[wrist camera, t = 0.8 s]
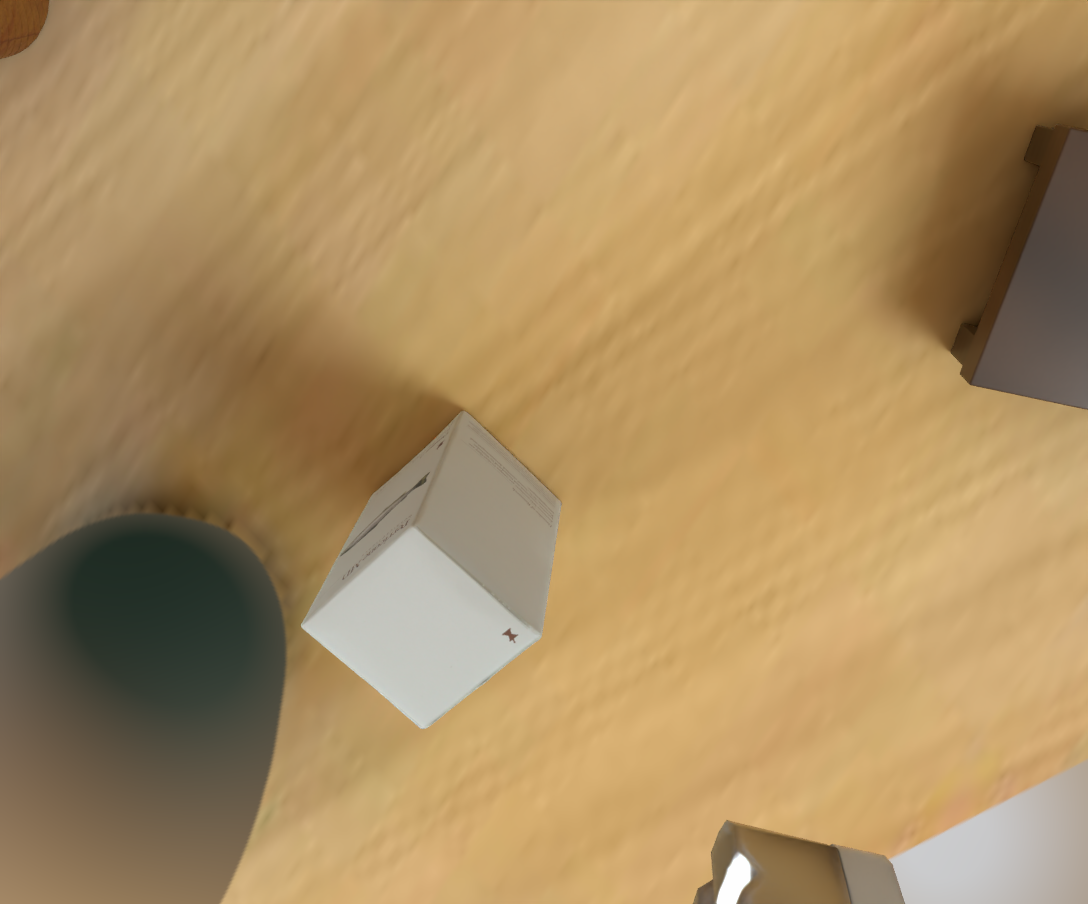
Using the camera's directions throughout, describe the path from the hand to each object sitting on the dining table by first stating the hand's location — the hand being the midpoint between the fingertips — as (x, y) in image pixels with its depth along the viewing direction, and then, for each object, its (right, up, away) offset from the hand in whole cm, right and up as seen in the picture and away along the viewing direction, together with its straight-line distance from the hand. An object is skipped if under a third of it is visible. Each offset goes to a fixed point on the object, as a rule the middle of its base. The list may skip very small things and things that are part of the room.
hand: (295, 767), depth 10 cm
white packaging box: (-2, +1, +43) cm, 43 cm away
